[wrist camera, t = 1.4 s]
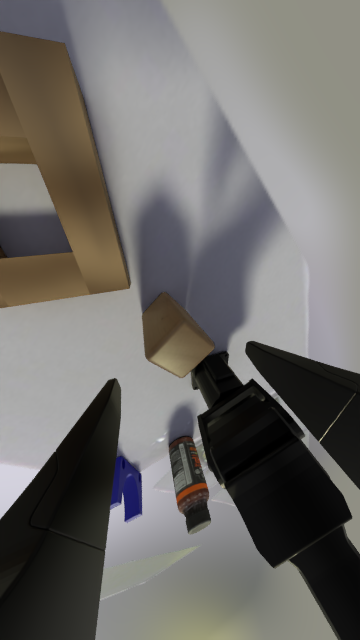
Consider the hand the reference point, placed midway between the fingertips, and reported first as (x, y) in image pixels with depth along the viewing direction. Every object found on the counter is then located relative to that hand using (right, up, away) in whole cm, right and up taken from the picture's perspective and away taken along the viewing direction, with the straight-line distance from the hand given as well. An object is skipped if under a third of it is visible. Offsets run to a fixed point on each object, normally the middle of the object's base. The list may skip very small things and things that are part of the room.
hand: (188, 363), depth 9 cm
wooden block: (-3, +4, +8) cm, 9 cm away
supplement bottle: (0, -26, +23) cm, 34 cm away
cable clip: (-13, -30, +21) cm, 39 cm away
